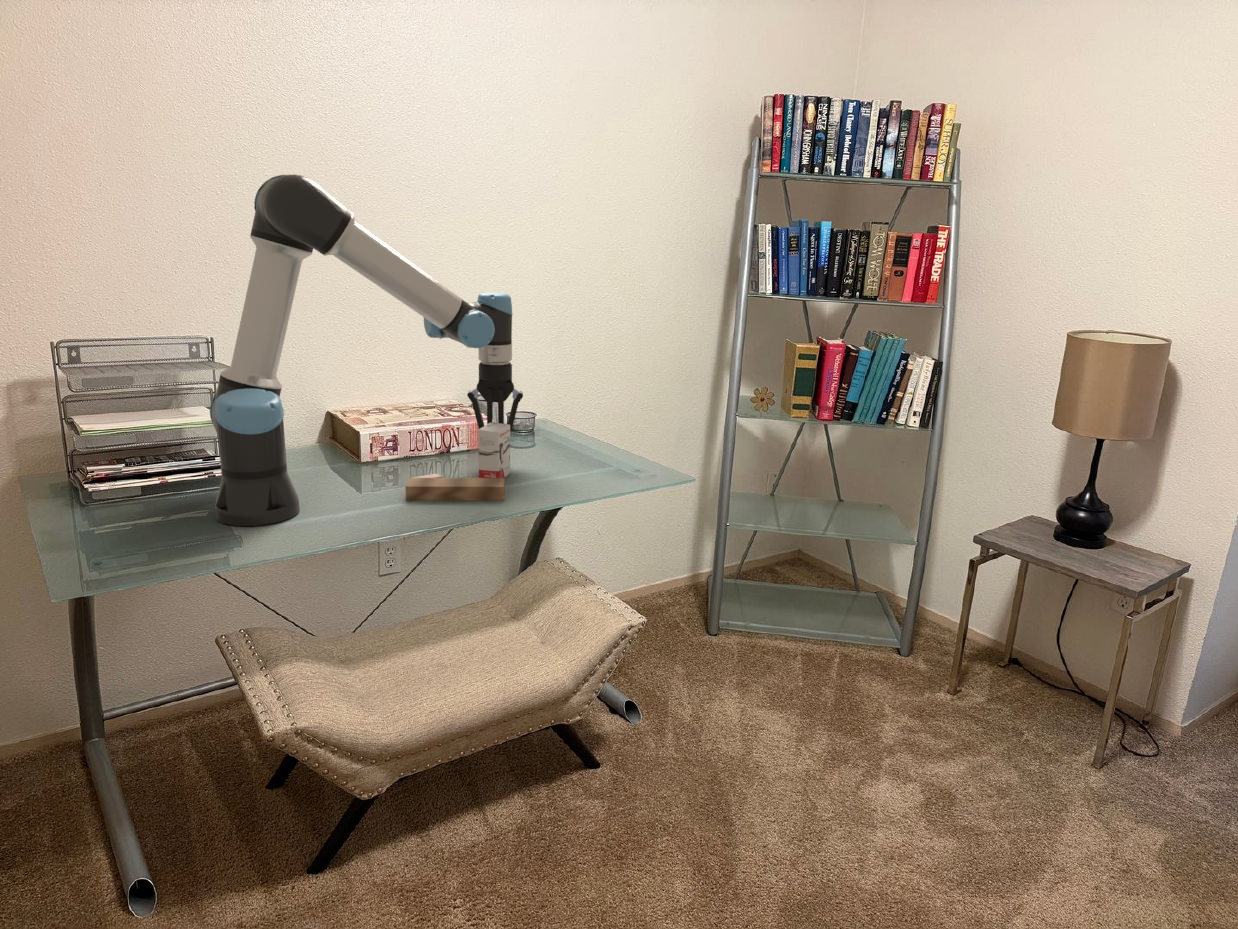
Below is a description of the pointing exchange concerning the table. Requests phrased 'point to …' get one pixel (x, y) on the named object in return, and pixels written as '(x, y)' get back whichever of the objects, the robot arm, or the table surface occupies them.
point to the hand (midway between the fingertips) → (495, 461)
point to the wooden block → (455, 489)
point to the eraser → (430, 476)
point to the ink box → (494, 450)
